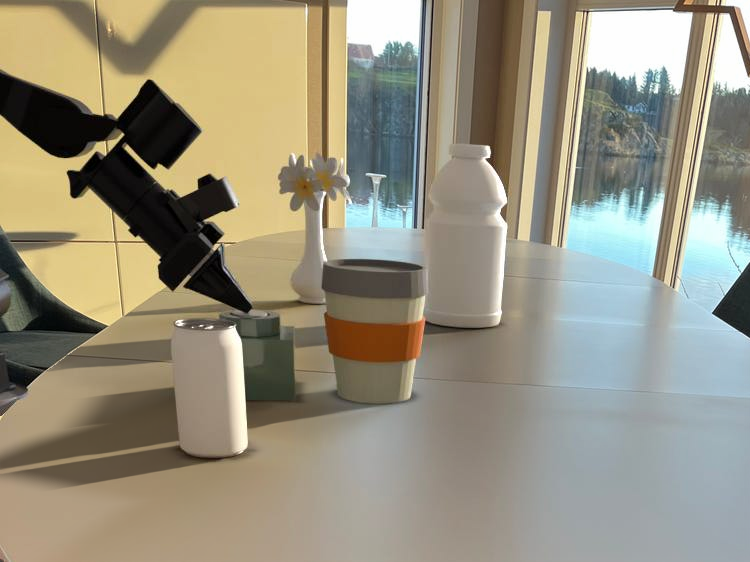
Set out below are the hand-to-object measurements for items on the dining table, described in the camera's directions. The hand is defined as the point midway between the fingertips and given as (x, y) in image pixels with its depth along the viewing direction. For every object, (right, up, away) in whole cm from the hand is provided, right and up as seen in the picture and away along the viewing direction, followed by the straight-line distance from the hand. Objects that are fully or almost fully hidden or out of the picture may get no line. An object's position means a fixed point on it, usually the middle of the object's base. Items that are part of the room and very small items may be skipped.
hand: (250, 310), depth 110 cm
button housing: (-1, -8, +4) cm, 9 cm away
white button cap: (0, -2, +1) cm, 2 cm away
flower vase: (-4, +25, +68) cm, 72 cm away
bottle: (+24, +18, +57) cm, 64 cm away
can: (+1, -20, -17) cm, 26 cm away
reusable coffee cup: (+14, -8, +7) cm, 17 cm away
